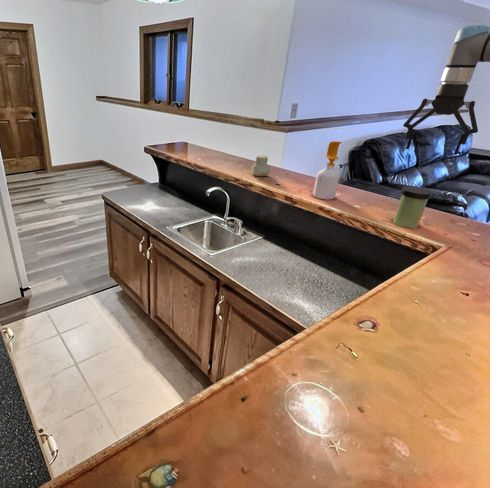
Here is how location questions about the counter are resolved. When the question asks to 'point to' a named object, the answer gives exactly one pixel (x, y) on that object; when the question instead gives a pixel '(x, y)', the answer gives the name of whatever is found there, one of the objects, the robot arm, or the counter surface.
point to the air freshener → (260, 166)
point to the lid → (416, 192)
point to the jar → (409, 212)
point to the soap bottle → (328, 175)
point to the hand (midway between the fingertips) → (430, 151)
